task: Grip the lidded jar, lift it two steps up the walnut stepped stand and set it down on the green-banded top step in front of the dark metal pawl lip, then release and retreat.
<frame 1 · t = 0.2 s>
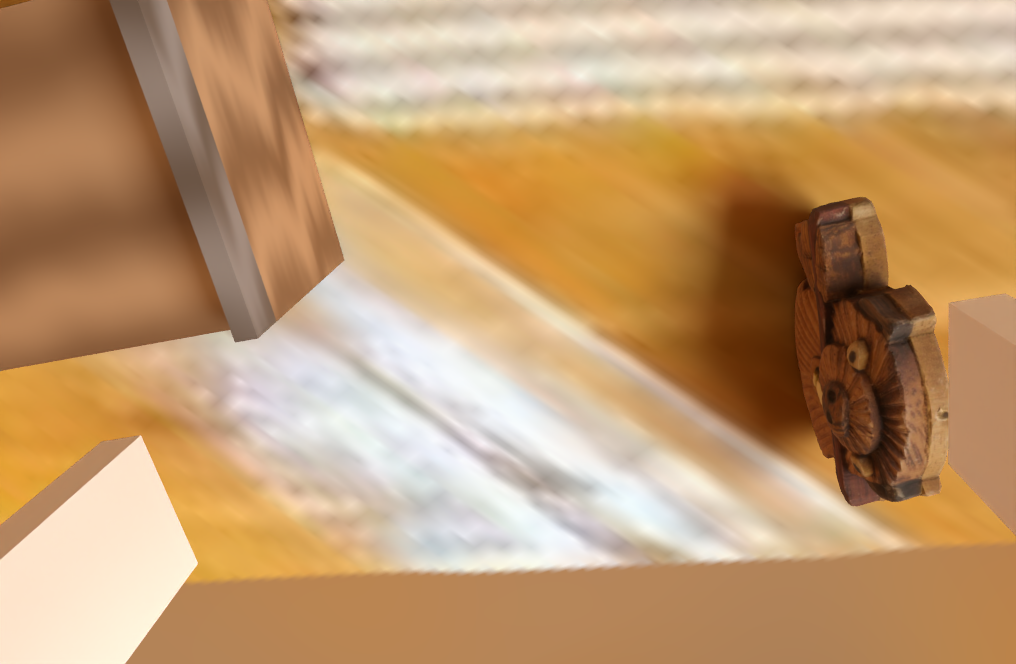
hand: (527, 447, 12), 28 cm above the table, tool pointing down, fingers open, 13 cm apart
wooden carving: (820, 330, 39), on the table
stepped stand: (81, 183, 39), on the table
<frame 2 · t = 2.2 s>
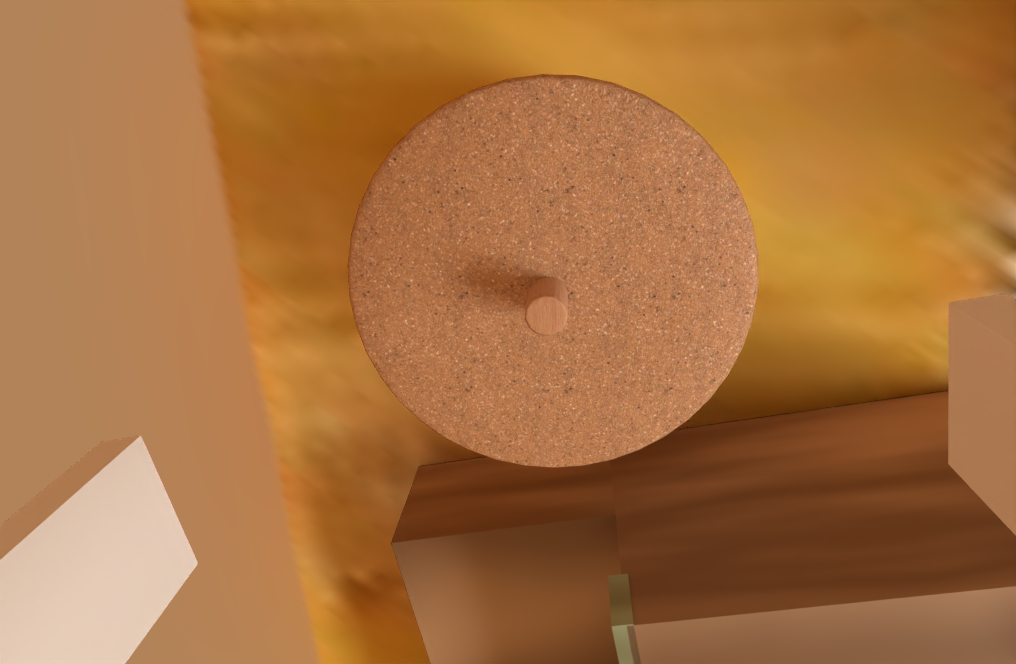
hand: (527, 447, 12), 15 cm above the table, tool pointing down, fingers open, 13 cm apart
lidded jar: (554, 225, 26), on the table
stepped stand: (645, 575, 31), on the table
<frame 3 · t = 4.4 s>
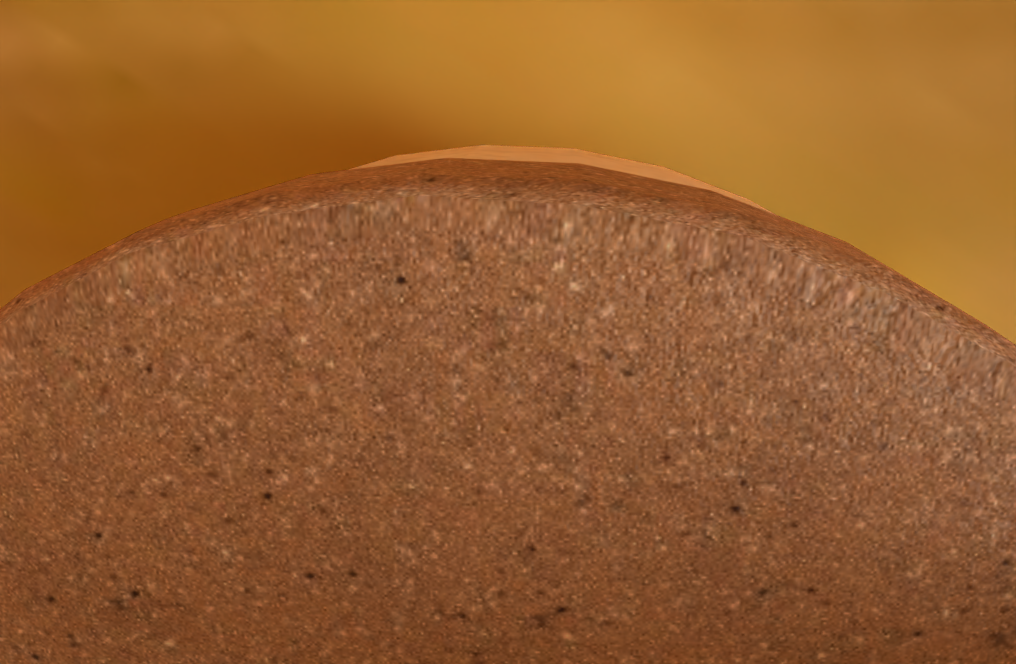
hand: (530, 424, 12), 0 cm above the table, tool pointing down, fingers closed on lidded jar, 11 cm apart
lidded jar: (530, 406, 13), on the table, touching gripper
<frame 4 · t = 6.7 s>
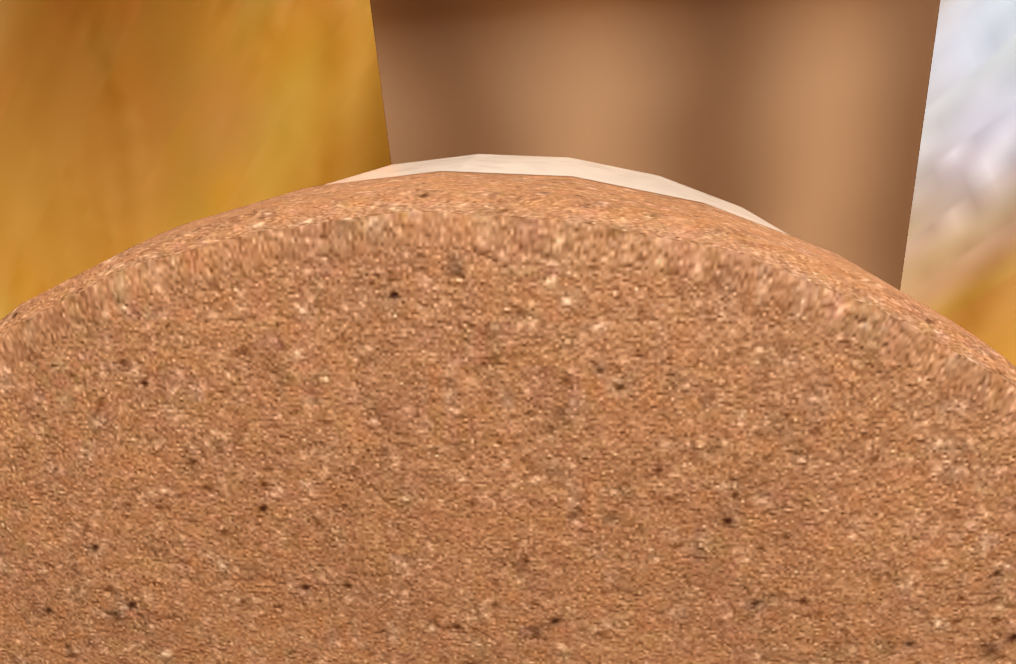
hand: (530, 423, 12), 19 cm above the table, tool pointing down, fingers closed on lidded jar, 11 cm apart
lidded jar: (529, 410, 13), point 18 cm above the table, touching gripper
stepped stand: (619, 287, 31), on the table
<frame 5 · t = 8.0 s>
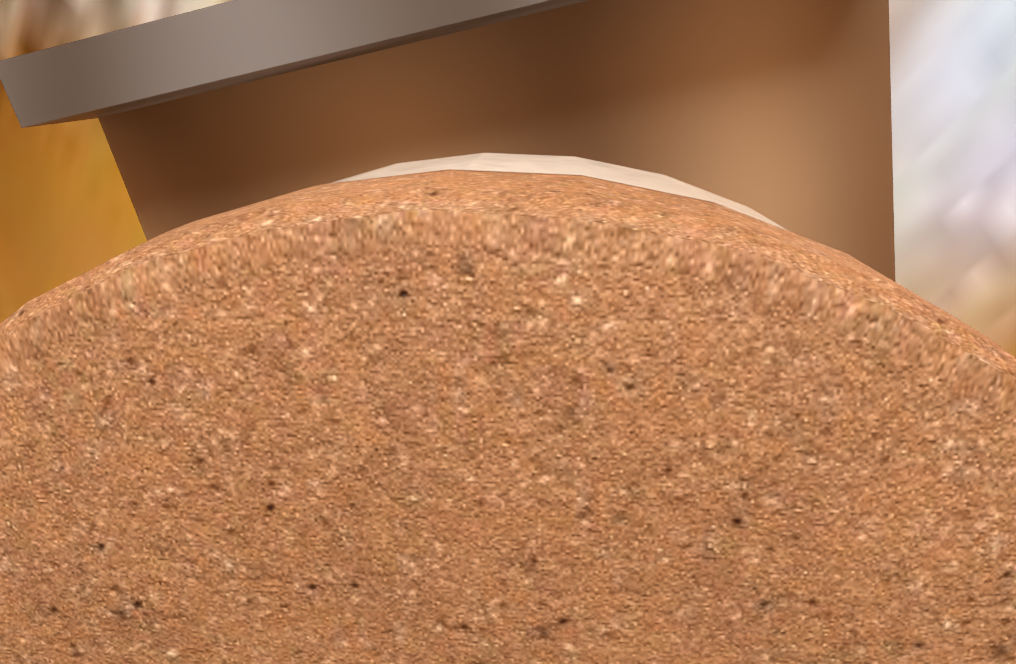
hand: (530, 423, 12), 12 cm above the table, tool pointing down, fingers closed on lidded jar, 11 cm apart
lidded jar: (531, 410, 13), point 12 cm above the table, touching gripper
stepped stand: (577, 404, 26), on the table
when the fingers open (12 cm above the table, at t = 9.0 s): lidded jar drops 1 cm, resting on stepped stand.
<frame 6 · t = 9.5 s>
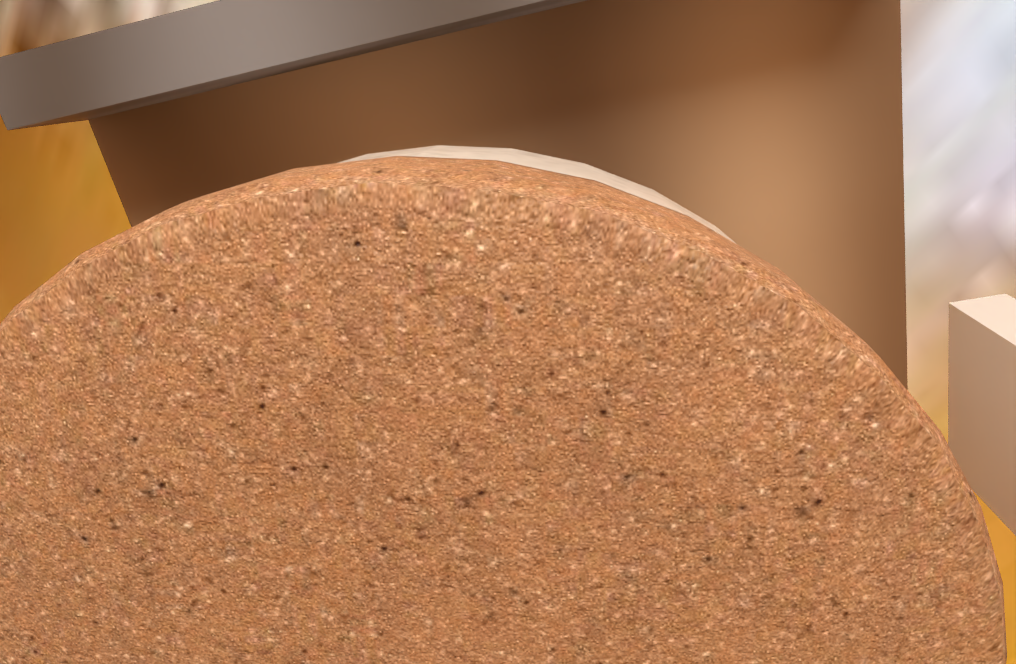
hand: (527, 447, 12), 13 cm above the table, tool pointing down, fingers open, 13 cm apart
lidded jar: (500, 379, 14), point 10 cm above the table, touching stepped stand
stepped stand: (578, 409, 25), on the table
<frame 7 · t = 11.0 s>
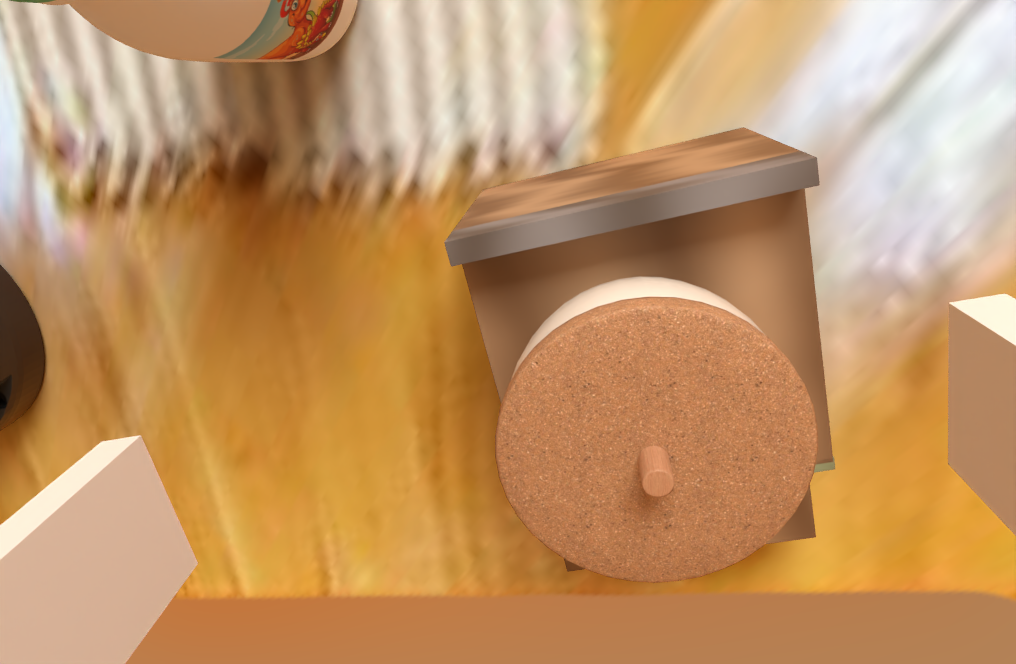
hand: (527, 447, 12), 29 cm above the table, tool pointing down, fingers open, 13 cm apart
lidded jar: (635, 362, 31), point 10 cm above the table, touching stepped stand
stepped stand: (653, 384, 42), on the table
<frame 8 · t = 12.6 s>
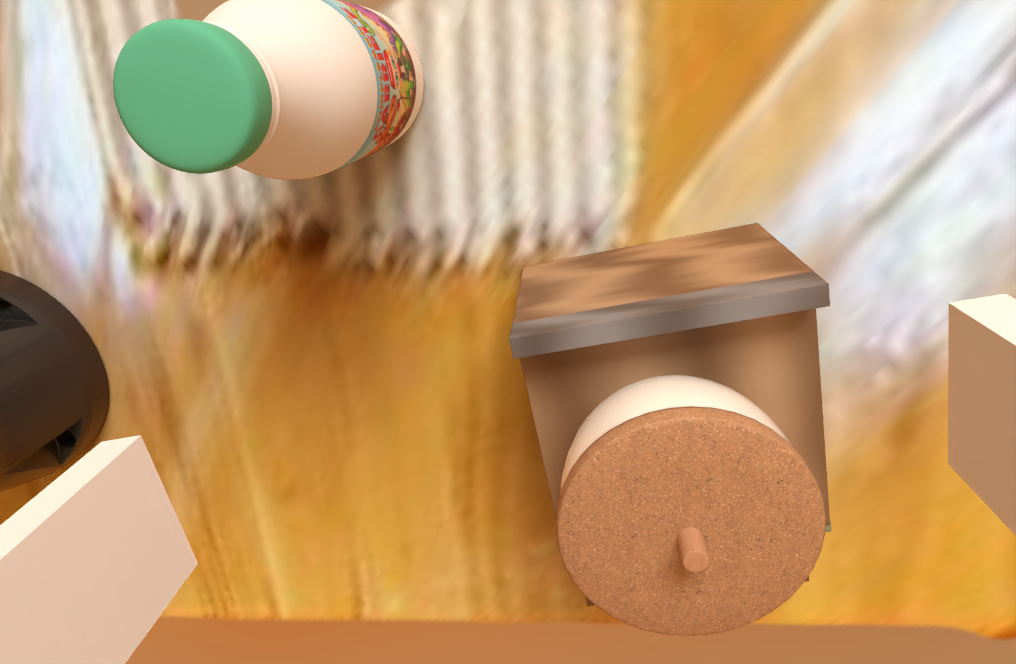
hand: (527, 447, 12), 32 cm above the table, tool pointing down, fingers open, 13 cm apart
lidded jar: (663, 437, 36), point 10 cm above the table, touching stepped stand
milk bottle: (360, 80, 40), on the table
stepped stand: (667, 439, 47), on the table
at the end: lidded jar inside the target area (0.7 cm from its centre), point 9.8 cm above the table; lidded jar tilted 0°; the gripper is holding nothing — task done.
